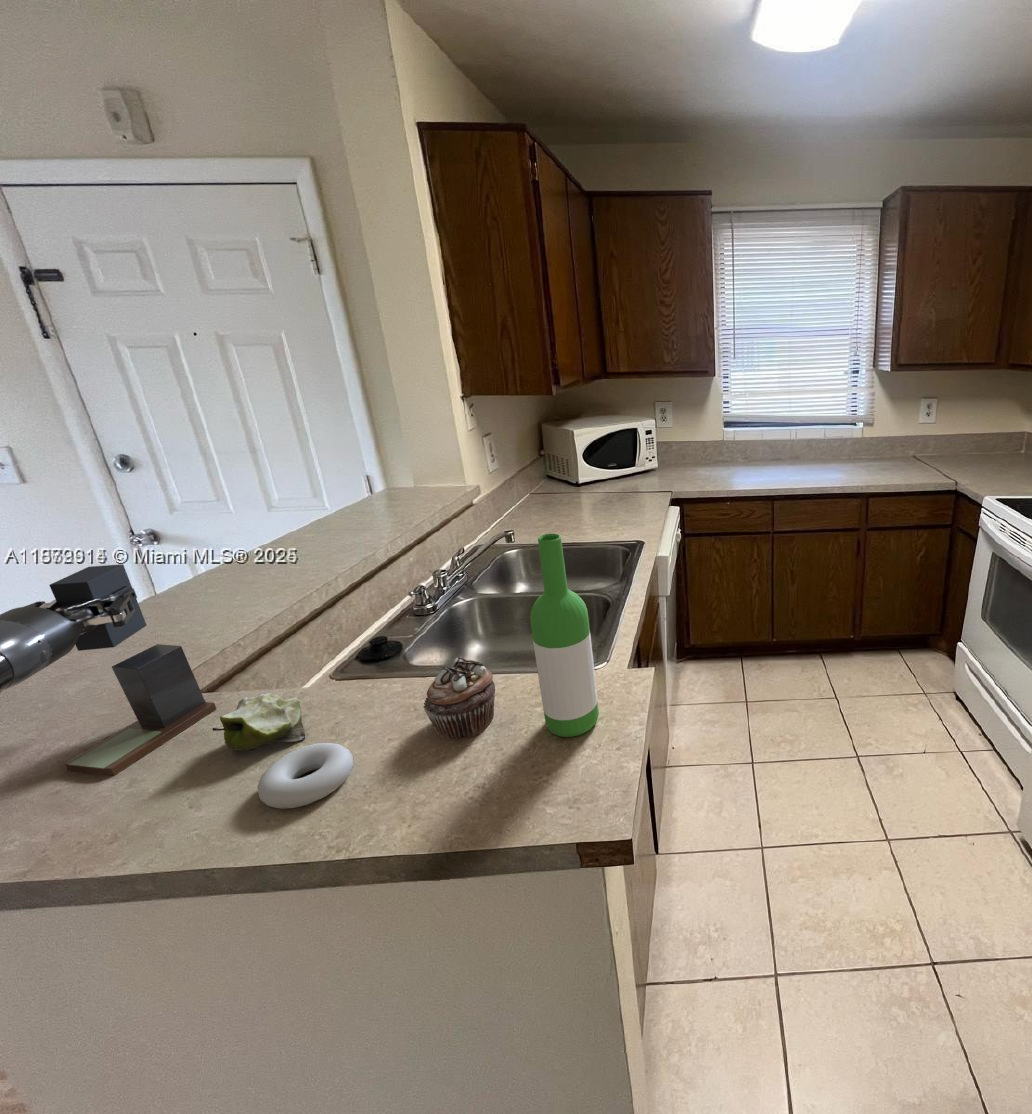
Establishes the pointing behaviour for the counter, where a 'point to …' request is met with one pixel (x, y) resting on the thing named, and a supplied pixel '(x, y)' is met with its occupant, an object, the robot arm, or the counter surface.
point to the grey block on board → (148, 709)
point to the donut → (290, 792)
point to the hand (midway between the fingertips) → (110, 593)
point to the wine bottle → (563, 648)
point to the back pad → (96, 586)
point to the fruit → (262, 722)
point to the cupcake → (461, 700)
